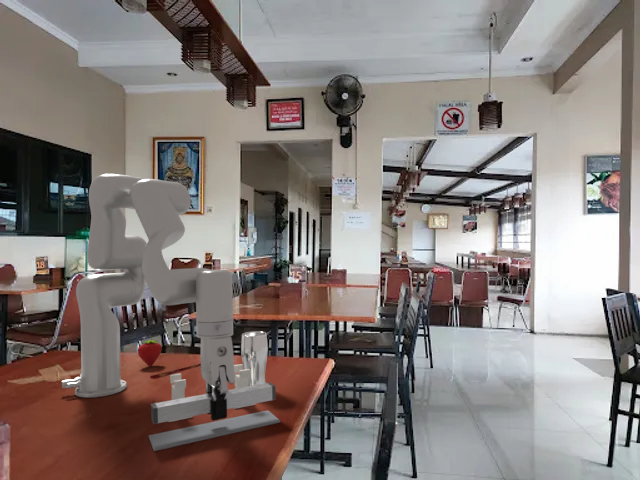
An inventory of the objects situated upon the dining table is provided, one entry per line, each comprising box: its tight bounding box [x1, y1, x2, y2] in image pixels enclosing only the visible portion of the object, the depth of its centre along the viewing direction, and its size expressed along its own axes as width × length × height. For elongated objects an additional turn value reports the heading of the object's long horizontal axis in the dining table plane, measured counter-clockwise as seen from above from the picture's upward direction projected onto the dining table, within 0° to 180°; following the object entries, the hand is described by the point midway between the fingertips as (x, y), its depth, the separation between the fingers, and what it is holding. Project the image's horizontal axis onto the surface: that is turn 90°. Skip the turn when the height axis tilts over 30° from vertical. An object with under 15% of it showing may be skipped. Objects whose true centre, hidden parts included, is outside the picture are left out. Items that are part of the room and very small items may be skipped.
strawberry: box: [137, 335, 163, 367], centre depth 144 cm, size 6×8×10 cm
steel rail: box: [150, 382, 277, 425], centre depth 93 cm, size 26×3×3 cm, turn 119°
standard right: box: [234, 363, 256, 410], centre depth 108 cm, size 5×6×9 cm
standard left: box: [168, 372, 193, 423], centre depth 101 cm, size 5×6×9 cm
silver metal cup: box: [240, 330, 268, 386], centre depth 118 cm, size 7×7×15 cm
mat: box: [148, 410, 281, 452], centre depth 93 cm, size 26×7×1 cm, turn 119°
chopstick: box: [150, 363, 201, 380], centre depth 140 cm, size 2×24×1 cm, turn 143°
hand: (216, 415), depth 93 cm, fingers closed on steel rail, 3 cm apart
